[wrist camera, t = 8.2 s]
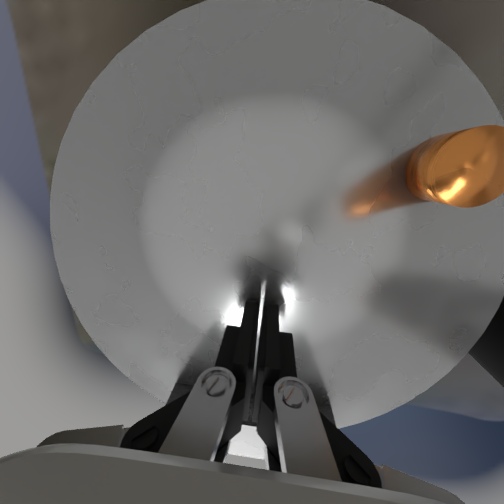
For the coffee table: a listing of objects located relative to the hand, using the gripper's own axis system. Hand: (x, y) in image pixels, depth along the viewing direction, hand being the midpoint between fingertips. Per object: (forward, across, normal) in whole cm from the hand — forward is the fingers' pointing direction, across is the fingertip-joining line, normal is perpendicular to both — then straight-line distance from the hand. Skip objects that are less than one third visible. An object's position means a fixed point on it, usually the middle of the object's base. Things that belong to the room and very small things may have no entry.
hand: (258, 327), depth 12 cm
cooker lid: (+1, 0, -3) cm, 3 cm away
